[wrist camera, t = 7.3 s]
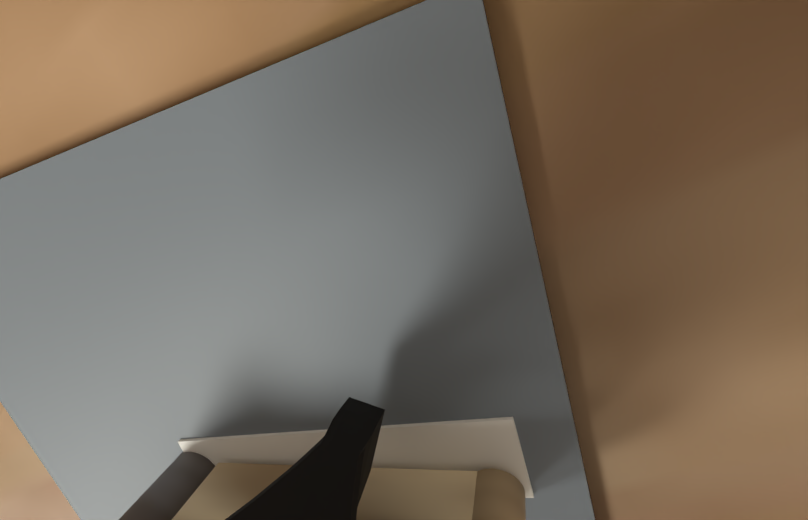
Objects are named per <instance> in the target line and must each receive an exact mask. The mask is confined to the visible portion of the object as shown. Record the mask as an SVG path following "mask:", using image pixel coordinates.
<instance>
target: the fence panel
mask: <svg viewBox="0 0 808 520" xmlns="http://www.w3.org/2000/svg"><path fill="white" fill-rule="evenodd" d="M292 466H293V465H276V464H246V463H218V464H217V465H216V466H215V467H214V469H213V470H212V471H211V472H210V474H209V475H208V476H207V477H206V478H205V480H204V481H203V482H202V483H201V484H200V486H199V487H198V488H197V489H196V491H195V492H194V493H193V494H192V495H191V497H190V498H189V499H188V500H187V502H186V503H185V504H184V505H183V506H182V508H181V509H180V510H179V511H178V513H177V514H176V515H175V516H174V517H173V519H172V520H225V519H226V518H228V517H229V516H230V515H232V514H233V513H234V512H236V511H237V510H238V509H240V508H241V507H242V506H244V505H245V504H246V503H248V502H249V501H250V500H251V499H253V498H254V497H255V496H257V495H258V494H259V493H260V492H261V491H263V490H264V489H265V488H266V487H267V486H269V485H270V484H271V483H272V482H274V481H275V480H276V479H277V478H278V477H280V476H281V475H282V474H283V473H284V472H286V471H287V470H288V469H289V468H290V467H292ZM356 520H526V508H525V490H524V487H523V485H522V484H521V482H520V481H519V480H518V479H517V478H516V477H515V476H513V475H512V474H510V473H508V472H506V471H503V470H499V469H492V468H489V469H482V470H479V471H457V470H427V469H397V468H371V471H370V474H369V477H368V479H367V482H366V485H365V488H364V491H363V493H362V496H361V499H360V502H359V504H358V507H357V518H356Z"/></svg>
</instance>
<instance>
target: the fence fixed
mask: <svg viewBox="0 0 808 520" xmlns="http://www.w3.org/2000/svg"><path fill="white" fill-rule="evenodd" d="M214 467H215V465H214V464H213V463H212V462H211V461H210V460H209V459H207V458H206V457H204V456H203V455H201V454H198V453H195V452H182V453H181V454H180V455H179V456H178V457H177V458H176V459H175V460H174V461H173V463H172V464H171V465H170V466H169V467H168V468H167V469H166V470H165V471H164V472H163V473H162V474H161V475H160V476H159V477H158V478H157V479H156V481H155V482H154V483H153V484H152V485H151V486H150V487H149V488H148V489H147V490H146V491H145V492H144V493H143V494H142V495H141V496H140V497H139V499H138V500H137V501H136V502H135V503H134V504H133V505H132V506H131V507H130V508H129V509H128V510H127V511H126V512H125V513H124V514H123V515H122V517H121V518H120V519H119V520H172V519H173V517H174V516H175V515H176V514H177V513H178V511H179V510H180V509H181V508H182V506H183V505H184V504H185V503H186V502H187V500H188V499H189V498H190V497H191V495H192V494H193V493H194V492H195V491H196V489H197V488H198V487H199V486H200V484H201V483H202V482H203V481H204V480H205V478H206V477H207V476H208V475H209V474H210V472H211V471H212V470H213V469H214Z"/></svg>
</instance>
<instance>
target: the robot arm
mask: <svg viewBox="0 0 808 520" xmlns="http://www.w3.org/2000/svg"><path fill="white" fill-rule="evenodd" d="M384 412H385V409H382V408H379V407H376V406H373V405H371V404H368V403H365V402H362V401H359V400H356V399H353V398H351V397H349V398H348V399H347V400H346V402H345V403H344V404H343V405H342V407H341V408H340V410H339V411H338V412H337V414H336V415H335V417H334V418H333V420H332V422H331V424H330V426H329V428H328V430H327V432H326V434H325V436H324V437H323V438H322V439H321V440H320V441H319V442H318V443H317V444H316V445H315V446H313V447H312V448H311V449H310V450H309V451H308V452H307V453H306V454H305V455H304V456H303V457H301V458H300V459H299V460H298V461H297V462H296V463H295V464H294V465H293V466H292V467H290V468H289V469H288V470H287V471H286V472H284V473H283V474H282V475H281V476H280V477H278V478H277V479H276V480H275V481H274V482H272V483H271V484H270V485H269V486H267V487H266V488H265V489H264V490H263V491H261V492H260V493H259V494H258V495H257V496H255V497H254V498H253V499H251V500H250V501H249V502H248V503H246V504H245V505H244V506H242V507H241V508H240V509H238V510H237V511H236V512H234V513H233V514H232V515H230V516H229V517H228V518H226V519H225V520H356V518H357V507H358V504H359V502H360V499H361V496H362V493H363V491H364V488H365V485H366V482H367V479H368V477H369V474H370V471H371V467H372V462H373V458H374V454H375V450H376V445H377V441H378V437H379V433H380V428H381V424H382V420H383V416H384Z"/></svg>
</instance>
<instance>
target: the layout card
mask: <svg viewBox="0 0 808 520" xmlns="http://www.w3.org/2000/svg"><path fill="white" fill-rule="evenodd" d="M349 397H351V398H353V399H356V400H359V401H362V402H365V403H368V404H371V405H373V406H376V407H379V408H382V409H385V412H384V416H383V420H382V424H381V428H380V433H379V437H378V441H377V445H376V450H375V454H374V458H373V462H372V467H371V468H397V469H427V470H457V471H479V470H482V469H489V468H492V469H499V470H503V471H506V472H508V473H510V474H512V475H513V476H515V477H516V478H517V479H518V480H519V481H520V482H521V484H522V485H523V487H524V490H525V508H526V520H595V516H594V511H593V506H592V502H591V497H590V493H589V488H588V483H587V479H586V474H585V469H584V465H583V460H582V456H581V451H580V446H579V442H578V437H577V433H576V428H575V423H574V419H573V414H572V409H571V405H570V400H569V396H568V391H567V386H566V382H565V377H564V373H563V368H562V363H561V359H560V354H559V349H558V345H557V340H556V336H555V331H554V326H553V322H552V317H551V313H550V308H549V303H548V299H547V294H546V289H545V285H544V280H543V276H542V271H541V266H540V262H539V257H538V253H537V248H536V243H535V239H534V234H533V229H532V225H531V220H530V216H529V211H528V206H527V202H526V197H525V193H524V188H523V183H522V179H521V174H520V169H519V165H518V160H517V156H516V151H515V146H514V142H513V137H512V133H511V128H510V123H509V119H508V114H507V109H506V105H505V100H504V96H503V91H502V86H501V82H500V77H499V73H498V68H497V63H496V59H495V54H494V50H493V45H492V40H491V36H490V31H489V26H488V22H487V17H486V13H485V8H484V3H483V0H426V1H423V2H421V3H419V4H416V5H414V6H412V7H409V8H407V9H404V10H402V11H400V12H397V13H395V14H392V15H390V16H388V17H385V18H383V19H381V20H378V21H376V22H373V23H371V24H369V25H366V26H364V27H361V28H359V29H357V30H354V31H352V32H350V33H347V34H345V35H342V36H340V37H338V38H335V39H333V40H330V41H328V42H326V43H323V44H321V45H319V46H316V47H314V48H311V49H309V50H307V51H304V52H302V53H299V54H297V55H295V56H292V57H290V58H288V59H285V60H283V61H280V62H278V63H276V64H273V65H271V66H268V67H266V68H264V69H261V70H259V71H256V72H254V73H252V74H249V75H247V76H245V77H242V78H240V79H237V80H235V81H233V82H230V83H228V84H225V85H223V86H221V87H218V88H216V89H214V90H211V91H209V92H206V93H204V94H202V95H199V96H197V97H194V98H192V99H190V100H187V101H185V102H183V103H180V104H178V105H175V106H173V107H171V108H168V109H166V110H163V111H161V112H159V113H156V114H154V115H152V116H149V117H147V118H144V119H142V120H140V121H137V122H135V123H132V124H130V125H128V126H125V127H123V128H121V129H118V130H116V131H113V132H111V133H109V134H106V135H104V136H101V137H99V138H97V139H94V140H92V141H90V142H87V143H85V144H82V145H80V146H78V147H75V148H73V149H70V150H68V151H66V152H63V153H61V154H59V155H56V156H54V157H51V158H49V159H47V160H44V161H42V162H39V163H37V164H35V165H32V166H30V167H28V168H25V169H23V170H20V171H18V172H16V173H13V174H11V175H8V176H6V177H4V178H1V179H0V402H1V403H2V405H3V406H4V408H5V409H6V410H7V412H8V413H9V415H10V416H11V418H12V419H13V421H14V422H15V424H16V425H17V427H18V428H19V430H20V431H21V433H22V434H23V435H24V437H25V438H26V440H27V441H28V443H29V444H30V446H31V447H32V449H33V450H34V452H35V453H36V455H37V456H38V458H39V459H40V461H41V462H42V463H43V465H44V466H45V468H46V469H47V471H48V472H49V474H50V475H51V477H52V478H53V480H54V481H55V483H56V484H57V486H58V487H59V488H60V490H61V491H62V493H63V494H64V496H65V497H66V499H67V500H68V502H69V503H70V505H71V506H72V508H73V509H74V511H75V512H76V513H77V515H78V516H79V518H80V519H81V520H119V519H120V518H121V517H122V515H123V514H124V513H125V512H126V511H127V510H128V509H129V508H130V507H131V506H132V505H133V504H134V503H135V502H136V501H137V500H138V499H139V497H140V496H141V495H142V494H143V493H144V492H145V491H146V490H147V489H148V488H149V487H150V486H151V485H152V484H153V483H154V482H155V481H156V479H157V478H158V477H159V476H160V475H161V474H162V473H163V472H164V471H165V470H166V469H167V468H168V467H169V466H170V465H171V464H172V463H173V461H174V460H175V459H176V458H177V457H178V456H179V455H180V454H181V453H182V452H195V453H198V454H201V455H203V456H204V457H206V458H207V459H209V460H210V461H211V462H212V463H213V464H214V465H215V466H216V465H217V464H218V463H246V464H276V465H294V464H295V463H296V462H297V461H298V460H299V459H300V458H301V457H303V456H304V455H305V454H306V453H307V452H308V451H309V450H310V449H311V448H312V447H313V446H315V445H316V444H317V443H318V442H319V441H320V440H321V439H322V438H323V437H324V436H325V434H326V432H327V430H328V428H329V426H330V424H331V422H332V420H333V418H334V417H335V415H336V414H337V412H338V411H339V410H340V408H341V407H342V405H343V404H344V403H345V402H346V400H347V399H348V398H349Z"/></svg>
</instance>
